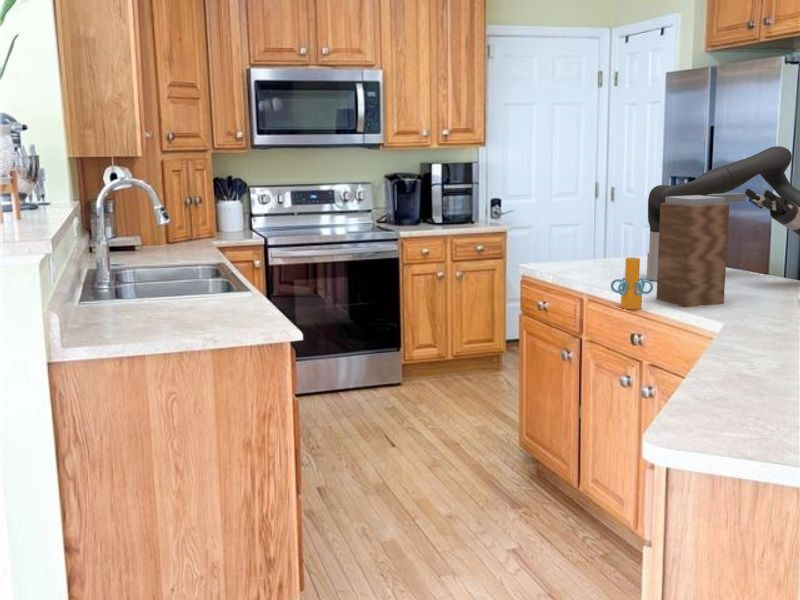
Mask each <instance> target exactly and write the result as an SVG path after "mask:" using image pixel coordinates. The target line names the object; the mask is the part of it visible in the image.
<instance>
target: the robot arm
mask: <svg viewBox="0 0 800 600" xmlns="http://www.w3.org/2000/svg"><path fill="white" fill-rule="evenodd" d="M792 159H793V156H792V152H791V151H790V149H788V148H786V147H784V146H778V145H777V146H775V145H774V146H770V147H769V148H766V149H764V150H761V151H760V152H757V153H755V154H754V155H750V156H749V157H745V158H743V159H740V160H737V161H733V162H730V163H728V164H725V165H721V166H718V167H716V168H712V169H709V170H708V171H706V172H704V173H702V174H700V176H698V177H696V178H694V180H691V181H689V182H688V181H687V182H684V183H681V184H676V185H666V184H659V185H656V186H654V187H653V188H652V189H651V190H650V191H649V195H648V198H647V199H648V200H647V221H648V226H649V240H648V241H649V245H648V252H647V259H646V261H647V264H646V265H647V266H646V280H649V281H654V282H657V273H658V250H659V226H660V203H665V197H672V196H692V195H702V196H707V194H724V193H729V192H731V191H734V190H736V189H738V188H739V187H741V186H742V185H745V183H747V182H748V181H750V180H752V179H753V178H755V177H757V176H758V175H760V176H761V177H762V179H764V181H765V182H766V183H767V184H768V185H769V186H770V187H771V188H772V189H773V190H774V192H775V193H776V194H775V193H773V192H772V191H771V190H768V189H766V190H764V193H763V194H761V195H760V194H758V193H757V192H755V191H753V190H751V189H750V188H746V189H745V191H744V193H745V194H746V198H748V202H750V203H751V204H753V205H755V207H757V208H759V209H763V208H764V209H766V210H767V211H769V213H770V214H769V215H770V217H771V218H772V219H773V220H775V221H776V222H777V223H779V224H781V225H782V226H784V227H785V228H787V229H788V230H789V229H790V230H791V231H793V233H795V234H796V235H798V236H799V237H800V190H799V189H798V188H796V187H795V186H793V185H792V183H791V182H790V181H789V180H788V178H787V175H786V173H785V172H786V171H787V169H788V168H789V166H790V164H791V163H792Z"/></svg>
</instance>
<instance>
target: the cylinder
mask: <svg viewBox="0 0 800 600" xmlns="http://www.w3.org/2000/svg"><path fill="white" fill-rule="evenodd" d="M640 260H641V259H640V257H636V256H635V257H633V256H632V257H631V256H630V257H625V270H624V271H625V273H624V277H622V279H621V278H615V279H613V280H612V282H611V283H610V289H611V291H612V292H614V293H617V294H619V295H620V308H621V309H623V310H631V311H634V310H636V311H637V310H641V309H642V301H643V294H644V295H649V294H650V293H652V292H653V291H654V284H653V282H652V280H647V279H644V278H643V277H640V267H641V266H640V264H641V263H640V262H641V261H640ZM618 282H619V284H618V287H617V289H616V288H614V285H615V283H618ZM647 283H648V284H649V286H650V288H649V290H647V291H645V290H644V288H645V284H647Z"/></svg>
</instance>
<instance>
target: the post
mask: <svg viewBox="0 0 800 600" xmlns="http://www.w3.org/2000/svg"><path fill="white" fill-rule="evenodd" d="M729 221H730V204H729V203H724V204H722V205H703V206H684V205H675V204H667V203H660V226H659V250H658V273H657V281H656V300H659V301H663V302H666V303H670V304H672V305H675V306H680V307H683V308H690V306H692V307H700V306H699V305H703V306H710V305H711V306H712V304H713V305H721V304H722V305H723V304H724V303H725V287H726V286H725V285H726V271H727V253H728V235H729Z"/></svg>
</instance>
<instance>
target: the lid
mask: <svg viewBox="0 0 800 600" xmlns="http://www.w3.org/2000/svg"><path fill="white" fill-rule="evenodd" d="M746 199H747V196H746V194H745V192H730V193H729V192H726V193H723V194H707V196H702V195H692V196H672V197H665V203H667V204H675V205H684V206H703V205H722V204H729V203H746Z"/></svg>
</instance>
